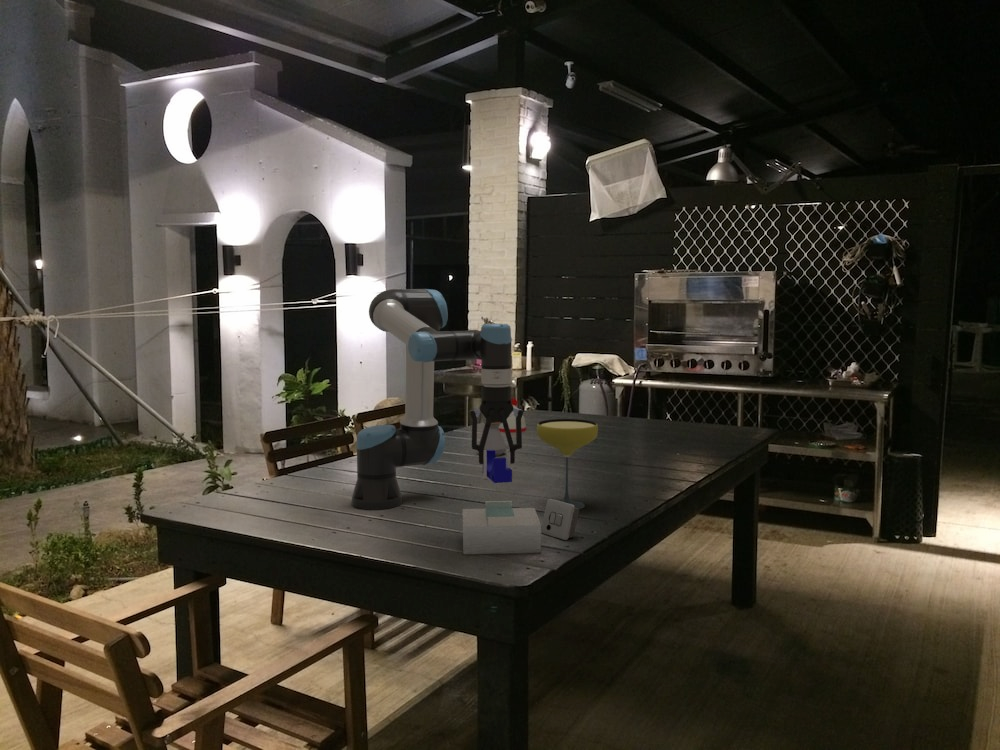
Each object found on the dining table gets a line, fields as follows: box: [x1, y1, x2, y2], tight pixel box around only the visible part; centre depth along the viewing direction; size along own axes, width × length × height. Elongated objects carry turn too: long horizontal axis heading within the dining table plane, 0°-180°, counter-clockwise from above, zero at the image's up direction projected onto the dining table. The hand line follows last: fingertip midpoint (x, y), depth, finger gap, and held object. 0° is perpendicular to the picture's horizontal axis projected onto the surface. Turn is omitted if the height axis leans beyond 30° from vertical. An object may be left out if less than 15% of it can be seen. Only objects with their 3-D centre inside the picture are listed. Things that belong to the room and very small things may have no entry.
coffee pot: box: [478, 413, 512, 457], centre depth 324 cm, size 21×12×15 cm, turn 152°
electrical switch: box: [541, 498, 580, 541], centre depth 214 cm, size 9×5×9 cm, turn 42°
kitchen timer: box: [498, 397, 527, 434], centre depth 376 cm, size 14×14×15 cm
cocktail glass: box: [536, 418, 599, 510], centre depth 242 cm, size 18×18×25 cm
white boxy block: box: [462, 500, 542, 555], centre depth 206 cm, size 19×16×9 cm
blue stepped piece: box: [486, 450, 513, 484], centre depth 205 cm, size 12×4×6 cm, turn 15°
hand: (496, 476), depth 206 cm, fingers closed on blue stepped piece, 5 cm apart
